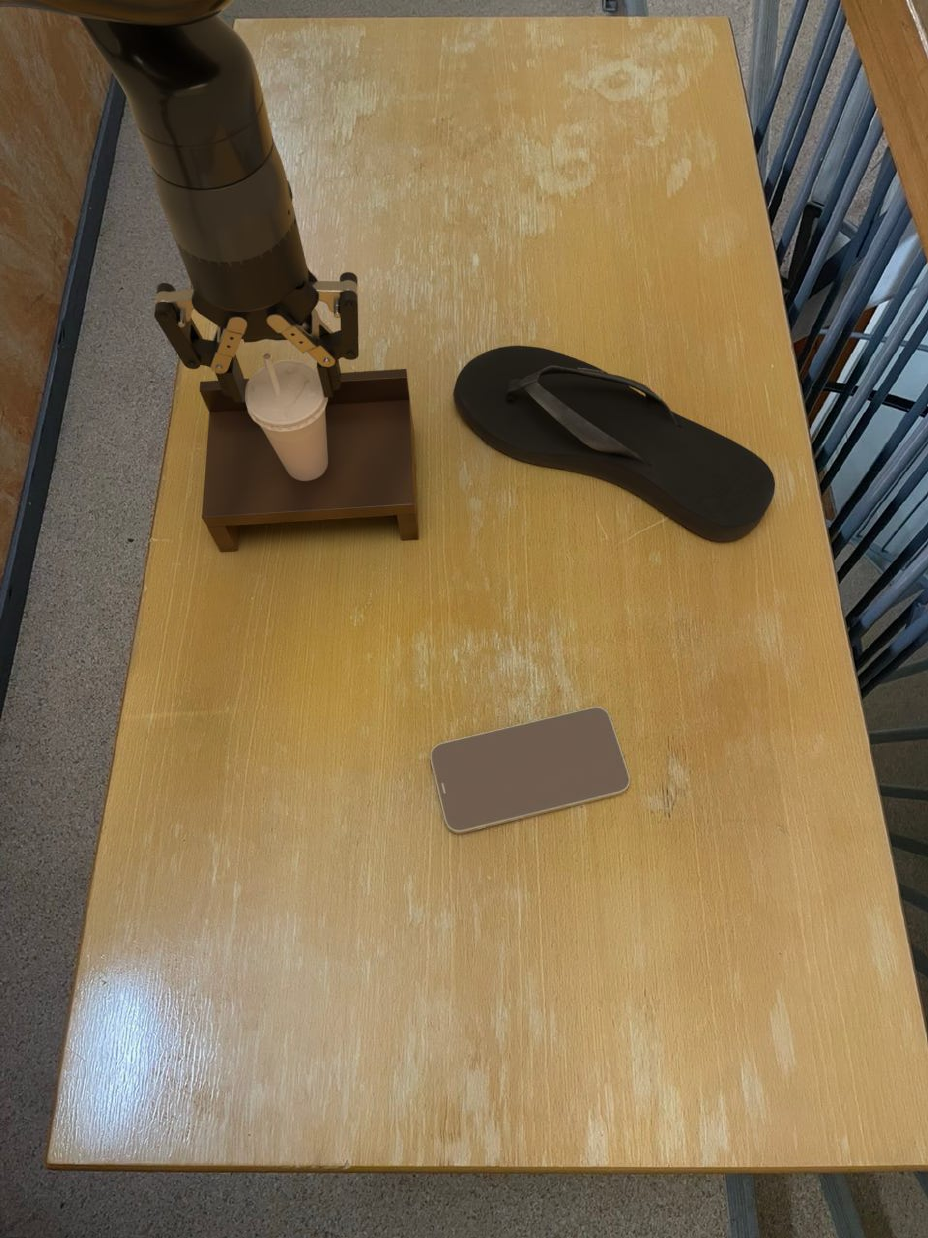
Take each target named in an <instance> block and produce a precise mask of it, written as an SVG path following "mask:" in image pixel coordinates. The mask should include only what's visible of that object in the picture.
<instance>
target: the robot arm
mask: <svg viewBox="0 0 928 1238" xmlns="http://www.w3.org/2000/svg"><path fill="white" fill-rule="evenodd" d="M234 1H235V0H0V8H10V7H12V8H26V9H32V10H41V11H44V12H45V11H46V12H51V13H57V14H62V15H66V16H72V17H77V19H78V20H79V22H80V24H81V25H82V27H83V29H84V31H85V33H86V34H87V36H88V37H89V39H90V41H91V43H92V44H93V45H94V48H95V49H96V51H97V53H99V55H100V56H101V58H102V59H103V61H104V63H105V64H106V65H107V66H108V68H109V70H110V71H111V72H112V74H113V75H114V78H115V79H116V81H117V82H118V84H119V86H120V87H121V89H122V90H123V92H124V94H125V97H126V100H127V103H128V107H129V111H130V112H131V116H132V119H133V121H134V124H135V126H136V130H137V132H138V134H139V137H140V140H141V142H142V143H141V144H142V145H143V148H144V151H145V154H146V156H147V158H148V161H149V164H150V167H151V170H152V174H153V178H154V185H155V188H156V193H157V195H158V199H159V203H160V205H161V208H162V210H163V213H164V215H165V218H166V221H167V224H168V225H169V228H170V231H171V234H172V236H173V239H174V242H175V244H176V247H177V249H178V252H179V255H180V258H181V260H182V262H183V265H184V267H185V270H186V272H187V275H188V278H189V281H190V284H191V286H192V288H186V289H181V290H176V287H174V286H173V285H172V284H171V283H168V282H160V283H159V284H158V285H157V287H156V294H155V304H154V313H153V316H154V319H155V320H156V322H157V323H158V326H159V327H160V328H161V330H162V332H163V334H164V335H165V337H166V338H167V340H168V341H169V343H170V345H171V346H172V348H173V349H174V352H175V353H176V354H177V356H178V357H179V359H180V361H181V363H182V364H183V366H184V367H185V368H187V369H190V370H197V369H199V368H200V367H201V366H203V367H208V368H210V370H211V371H212V372H214V374H215V377H216V378H217V381H219V384H220V386H221V389H222V391H223V393H224V394H225V395H226V396H227V397H230V396H232V397H233V400H234V402H235V403H239V402H244V401H245V379H246V378H245V376H244V374H243V371H242V368H241V365H240V362H239V359H238V357H237V351H238V348H239V346H240V343H241V340H243V343H245V344H246V343H247V344H248V343H257V342H260V341H264V340H268V341H269V340H270V341H276V342H278V341H279V342H280V341H288V342H289V343H291V345H293V346H294V347H295V349H297V350H298V351H299V352H300V353H302V354H306V353H307V354H308V355H309V356H310V357H311V358H312V359H313V360H314V361H316V369H317V370H318V374H319V378H320V382H321V386H322V390H323V394H324V397H334V390H339V389H340V387H341V373H342V369H341V366H340V359H345V360H349V361H353V360H356V359H358V357H359V356H360V355H359V354H360V353H359V352H360V351H359V349H360V347H359V345H360V344H359V290H358V289H359V286H358V284H359V283H358V281H359V280H358V276H357V275H356V274H355V273H354V272H351V271H345V272H342V273H341V275H339V281H336V280H335V281H333V280H318V278H317V277H316V275H315V274H314V273H312V272H311V270H310V268H309V267H308V264H307V260H306V256H305V253H304V247H303V243H302V239H301V235H300V230H299V226H298V221H297V217H296V213H295V209H294V204H293V198H294V196H293V191H292V187H291V184H290V181H289V180H288V177H287V174H286V173H287V172H286V169H285V167H284V163H283V161H282V160H283V159H282V158H281V154H280V153H279V150H278V148H277V145H276V143H275V140H274V136H273V130H272V128H271V127H272V126H271V122H270V119H269V114H268V110H267V106H266V101H265V97H264V93H263V88H262V84H261V81H260V77H259V73H258V69H257V66H256V63H255V60H254V58H253V55H252V53H251V51H250V49H249V47H248V45H247V44H246V43H245V41H244V40H243V38H242V37H241V36H240V35H239V34H238V32H236V30H235V29H234V28H233V27H232V26H230V24H228V23H227V22H226V21H225V20H223V18H221V17H220V16H219V14H220V13H222V12H223V11H224V10H226V9H227V8H228V7H229V6H230V5H231V4H233V2H234ZM319 302H321V303H322V302H323V304H326V306H327V307H328V310H329V312H331V313H333V317H334V318H336V319H339V318H340V319H339V320H340V321H339V322H340V329H338V330H337V331H336V330H335V331H333V330H332V329H330V328H329V327H328V326H327V324H326V323H324V321H323V320H322V319H321V318H320V315H319V312H318V310H317V309H316V307H317V305H318V303H319ZM193 310H195V311H196V312H197V313H198V314H199V315H201V316H202V317H203V318H205V319H206V320H208V321H210V322H211V323H212V324H214V325H215V326H217V327H216V329H215V332H214V335H213V338H212V339H205V338H203V336H202V334H201V332H200V330H199V328H198V327H197V325H196V323H195V321H194V320H193V318H192V312H193Z"/></svg>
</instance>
